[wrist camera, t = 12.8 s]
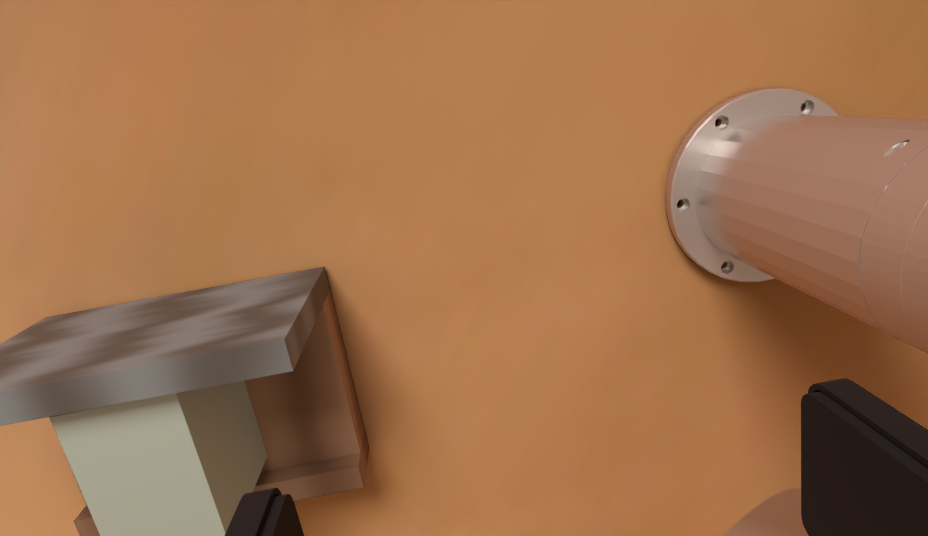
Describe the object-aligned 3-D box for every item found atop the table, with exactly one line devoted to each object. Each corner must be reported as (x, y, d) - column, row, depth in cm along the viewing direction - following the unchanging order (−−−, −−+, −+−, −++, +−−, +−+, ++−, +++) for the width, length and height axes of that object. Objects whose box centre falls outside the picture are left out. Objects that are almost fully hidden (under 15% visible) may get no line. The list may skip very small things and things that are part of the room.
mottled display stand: (324, 266, 38) (284, 339, 26) (369, 447, 42) (351, 579, 30) (45, 317, 37) (-120, 414, 26) (117, 495, 41) (2, 648, 30)
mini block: (228, 329, 35) (175, 393, 28) (268, 459, 38) (231, 550, 30) (129, 348, 35) (49, 417, 28) (177, 477, 38) (116, 573, 30)
